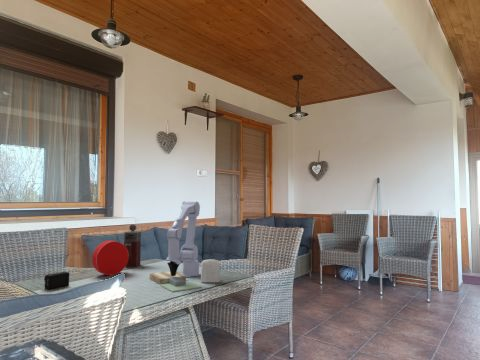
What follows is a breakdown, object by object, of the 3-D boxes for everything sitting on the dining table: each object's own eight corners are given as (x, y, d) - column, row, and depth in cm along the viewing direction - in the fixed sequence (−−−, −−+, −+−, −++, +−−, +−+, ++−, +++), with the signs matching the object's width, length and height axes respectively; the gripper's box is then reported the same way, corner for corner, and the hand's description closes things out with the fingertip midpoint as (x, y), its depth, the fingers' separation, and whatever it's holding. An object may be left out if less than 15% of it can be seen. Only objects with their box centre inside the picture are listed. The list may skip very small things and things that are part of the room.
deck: (174, 275, 204) (174, 270, 204) (185, 281, 191) (185, 275, 191) (149, 279, 195) (149, 273, 195) (160, 284, 182) (160, 279, 182)
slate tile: (178, 280, 188) (178, 276, 188) (185, 284, 180) (185, 280, 180) (168, 281, 184) (168, 278, 184) (175, 286, 177) (175, 282, 177)
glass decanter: (122, 267, 226) (123, 225, 228) (127, 264, 237) (128, 224, 239) (135, 267, 226) (136, 225, 228) (140, 264, 238) (141, 224, 239)
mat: (187, 281, 190) (187, 280, 190) (201, 287, 177) (201, 286, 177) (159, 285, 181) (159, 284, 181) (172, 292, 168) (172, 291, 168)
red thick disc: (123, 271, 215) (124, 239, 217) (128, 272, 211) (129, 240, 212) (91, 276, 201) (92, 241, 202) (95, 277, 197) (96, 242, 198)
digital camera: (63, 284, 182) (63, 271, 183) (69, 285, 179) (69, 272, 180) (43, 288, 173) (43, 274, 174) (49, 290, 170) (49, 275, 171)
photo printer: (219, 281, 192) (219, 258, 192) (219, 282, 187) (219, 260, 188) (201, 281, 191) (201, 258, 192) (200, 283, 187) (201, 260, 187)
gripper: (161, 249, 191) (161, 274, 190) (172, 252, 179) (171, 279, 178) (173, 248, 195) (173, 272, 194) (184, 251, 183) (184, 277, 182)
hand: (173, 275), depth 186 cm, fingers closed
